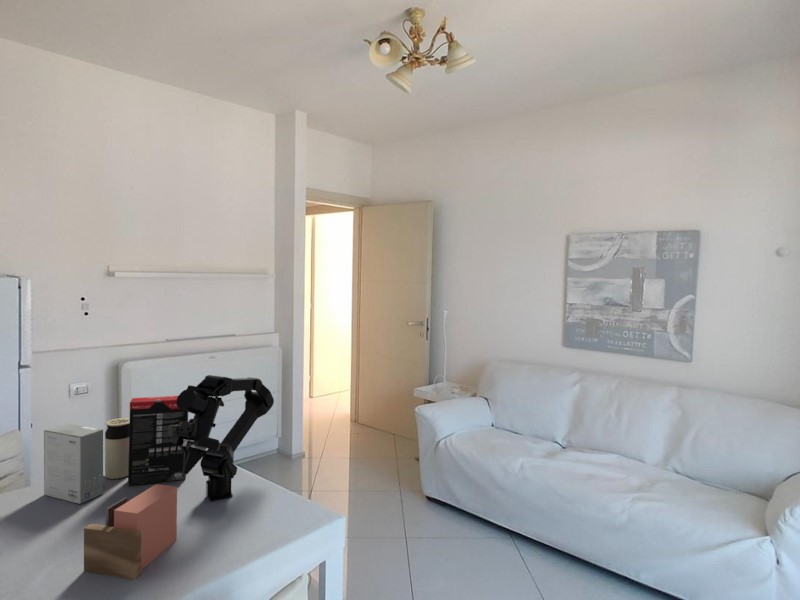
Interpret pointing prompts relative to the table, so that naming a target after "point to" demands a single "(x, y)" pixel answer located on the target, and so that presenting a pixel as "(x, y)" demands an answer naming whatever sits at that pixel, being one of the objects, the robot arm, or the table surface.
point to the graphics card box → (154, 441)
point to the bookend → (111, 511)
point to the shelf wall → (112, 551)
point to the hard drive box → (73, 462)
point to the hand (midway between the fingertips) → (184, 473)
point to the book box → (151, 519)
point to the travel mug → (117, 448)
